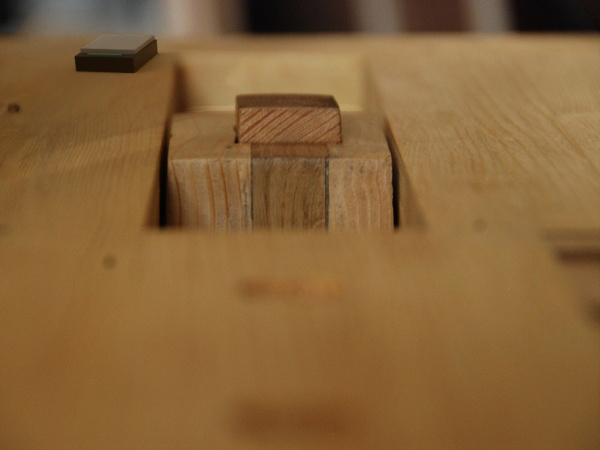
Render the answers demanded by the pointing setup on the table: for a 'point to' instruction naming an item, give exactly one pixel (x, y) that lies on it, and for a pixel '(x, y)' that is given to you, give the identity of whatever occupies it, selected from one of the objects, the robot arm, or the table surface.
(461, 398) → the table surface
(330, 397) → the table surface
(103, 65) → the scale
